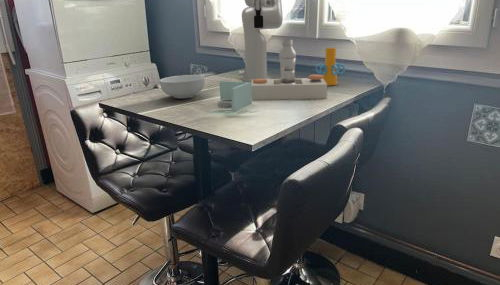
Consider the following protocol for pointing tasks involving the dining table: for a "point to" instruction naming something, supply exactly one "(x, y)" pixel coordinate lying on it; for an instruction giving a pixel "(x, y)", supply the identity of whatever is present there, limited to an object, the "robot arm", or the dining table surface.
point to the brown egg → (315, 78)
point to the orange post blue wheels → (330, 67)
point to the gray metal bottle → (287, 63)
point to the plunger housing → (289, 89)
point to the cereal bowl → (182, 85)
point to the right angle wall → (234, 95)
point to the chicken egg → (259, 81)
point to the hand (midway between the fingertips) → (258, 27)
